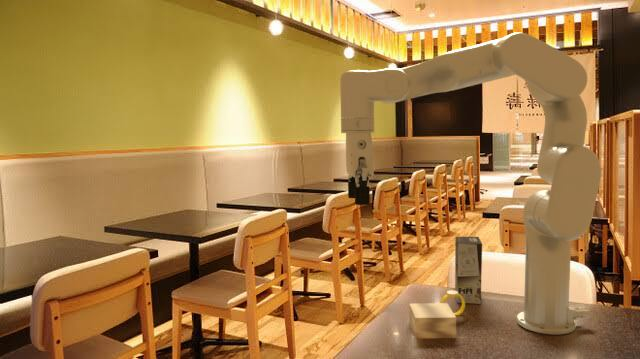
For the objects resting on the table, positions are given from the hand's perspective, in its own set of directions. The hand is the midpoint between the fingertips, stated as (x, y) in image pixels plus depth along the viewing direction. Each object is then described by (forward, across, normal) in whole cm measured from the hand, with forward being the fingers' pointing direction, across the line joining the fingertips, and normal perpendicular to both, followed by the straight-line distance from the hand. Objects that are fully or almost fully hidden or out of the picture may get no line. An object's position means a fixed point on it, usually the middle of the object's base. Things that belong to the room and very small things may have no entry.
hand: (358, 201), depth 119 cm
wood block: (+30, -4, -16) cm, 35 cm away
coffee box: (+30, +15, -32) cm, 47 cm away
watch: (+30, +4, -24) cm, 39 cm away
